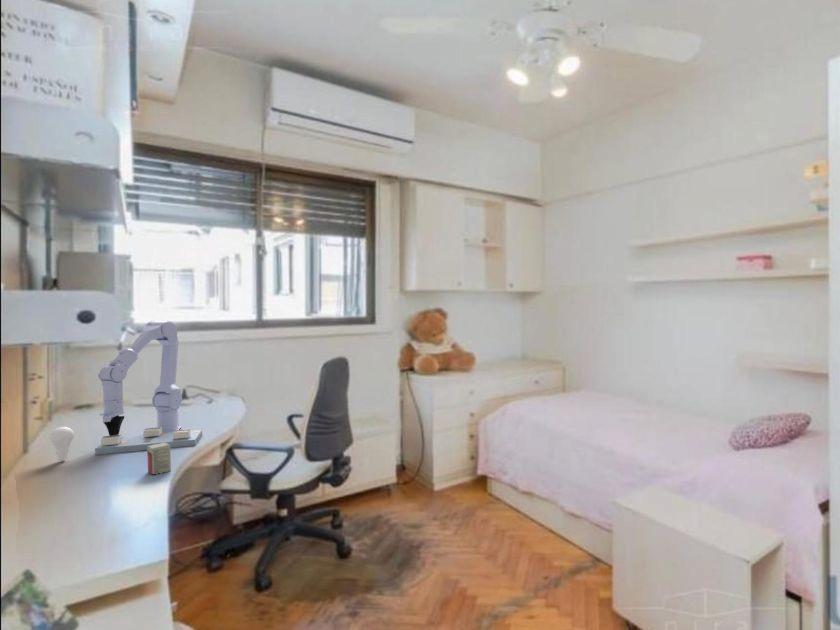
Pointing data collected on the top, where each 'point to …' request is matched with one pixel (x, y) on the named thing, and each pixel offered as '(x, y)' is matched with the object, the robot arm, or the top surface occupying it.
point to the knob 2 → (152, 431)
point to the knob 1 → (111, 440)
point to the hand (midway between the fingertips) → (114, 438)
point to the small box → (159, 458)
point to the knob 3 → (181, 433)
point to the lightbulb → (62, 441)
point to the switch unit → (148, 442)
